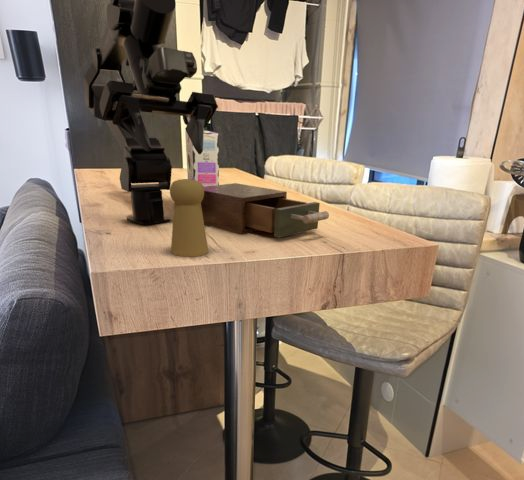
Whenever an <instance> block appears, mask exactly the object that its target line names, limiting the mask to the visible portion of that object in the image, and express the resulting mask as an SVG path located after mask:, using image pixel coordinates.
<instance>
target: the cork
mask: <svg viewBox="0 0 524 480" xmlns="http://www.w3.org/2000/svg"><path fill="white" fill-rule="evenodd" d="M169 195H170V198H171V200H172V201H173V215H172V217H173V218H172V230H171V231H172V232H171V243H170V244H171V245H170V253H171V254H172V255H175V256H179V257H186V258H187V257H201V256H205V255H207V254H209V246H208V241H207V233H206V227H205V225H204V220H203V214H202V207H201V201H202V200H203V197H204V188H203V185H202V184H201V183H200V182H199V181H196V180H191V179H188V178H181V179H176V180H173V182H172V181H171V185H170V190H169Z"/></svg>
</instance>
